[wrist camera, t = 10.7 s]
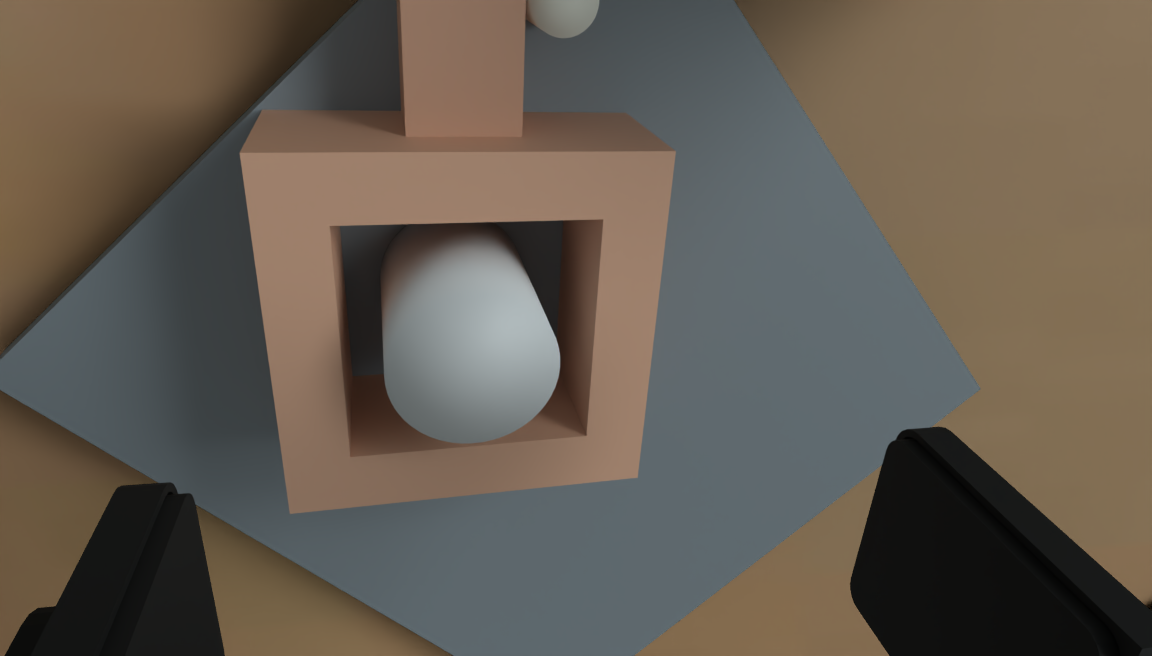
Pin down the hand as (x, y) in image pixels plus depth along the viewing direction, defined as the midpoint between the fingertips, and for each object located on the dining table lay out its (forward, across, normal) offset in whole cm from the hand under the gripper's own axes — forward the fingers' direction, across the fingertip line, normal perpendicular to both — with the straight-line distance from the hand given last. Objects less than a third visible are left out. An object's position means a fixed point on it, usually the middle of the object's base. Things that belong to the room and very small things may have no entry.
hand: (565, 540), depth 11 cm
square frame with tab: (+8, +1, -2) cm, 8 cm away
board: (+9, -2, +2) cm, 9 cm away
